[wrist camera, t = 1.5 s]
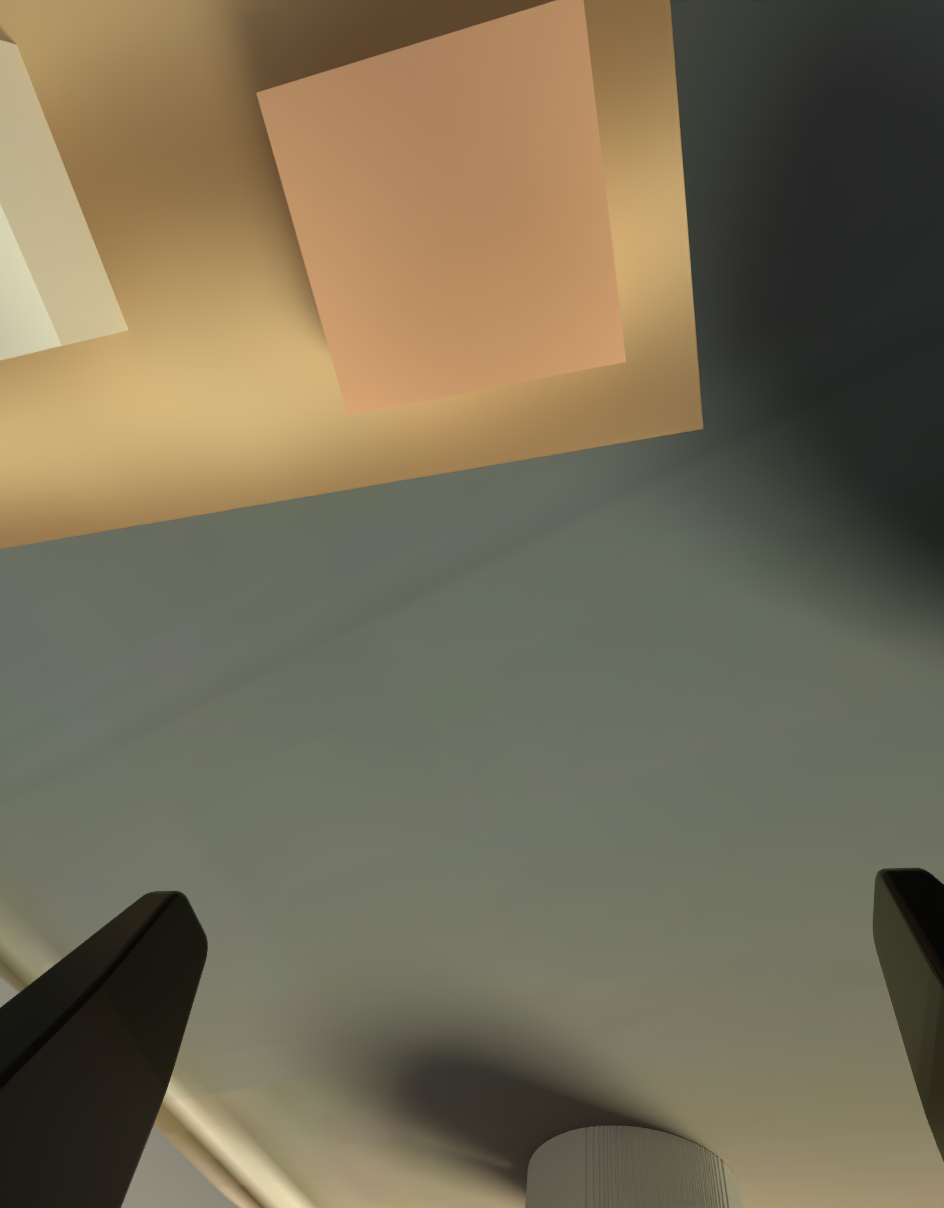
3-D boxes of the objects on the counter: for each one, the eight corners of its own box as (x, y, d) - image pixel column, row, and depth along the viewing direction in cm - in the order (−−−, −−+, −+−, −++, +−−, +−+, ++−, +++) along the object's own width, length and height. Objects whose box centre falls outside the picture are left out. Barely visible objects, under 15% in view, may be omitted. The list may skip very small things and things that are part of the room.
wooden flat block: (679, 386, 17) (703, 429, 13) (84, 495, 20) (-22, 552, 17) (611, -373, 12) (621, -628, 8) (-167, -51, 15) (-393, -133, 12)
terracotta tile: (621, 342, 13) (626, 361, 11) (378, 391, 14) (347, 415, 12) (583, 29, 11) (582, -9, 9) (305, 112, 12) (255, 92, 10)
